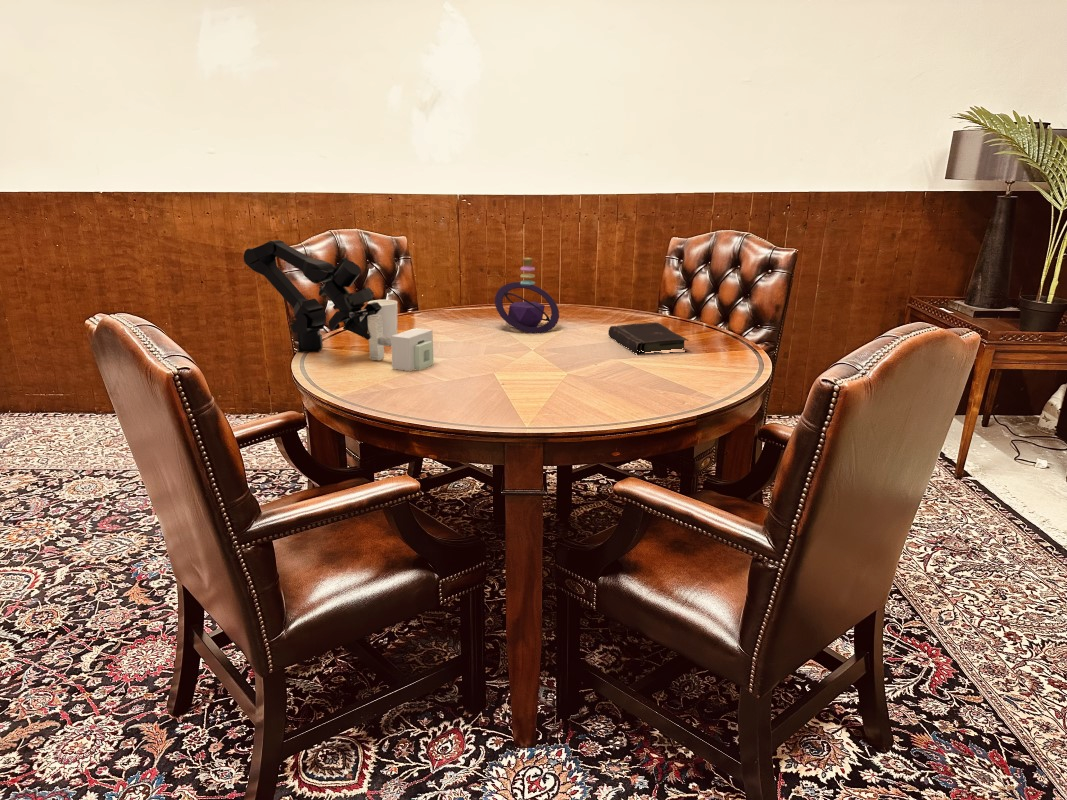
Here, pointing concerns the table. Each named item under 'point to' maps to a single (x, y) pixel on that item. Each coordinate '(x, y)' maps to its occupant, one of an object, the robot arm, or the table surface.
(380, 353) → the grey piece
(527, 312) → the decorative bottle
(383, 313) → the candle holder
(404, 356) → the block
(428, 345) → the spacer
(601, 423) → the table surface
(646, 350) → the diary
